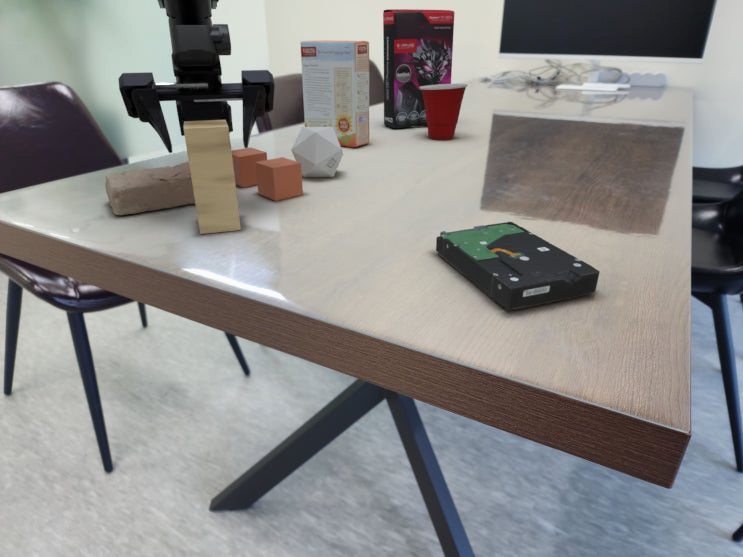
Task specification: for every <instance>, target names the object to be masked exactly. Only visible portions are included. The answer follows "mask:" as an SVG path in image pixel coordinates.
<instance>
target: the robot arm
mask: <svg viewBox="0 0 743 557" xmlns="http://www.w3.org/2000/svg"><path fill="white" fill-rule="evenodd" d="M219 2H220V0H157V3H158V6H159V9H165V14H166V16H167V18H168V21H167V22H168V28H169V29H168V30H169V37H170V44H171V50H172V52H171V55H170V57H171V64H172V71H173V75H174V77H175V82H155V78H154V74H153V72H148V71H147V72H145V71H144V72H122V73H121V74H120V76H119V77H118V78H117V79H118V88H119V93H120V95H121V98H122V101H123V104H124V107H125V110H126V113H127V115H128V117H130V118H133V119H138V120H139V121H140V122H141V123H148V124H149V125H150V126H151V127H152V128H153V130H154V131H155V132H156V133H157V135H158V136H159V138H160V140H161V142H162V143H163V145H164V146H165V149H166V150H167V152H168V153H169V154H172V153H173V144H172V140H171V137H170V132H169V128H168V126H167V122H166V119H165V116H164V111H163V108H162V105H161V102H172V101H173V102H175V107H176V113H177V120H178V124H179V130H180V136H181V137H185V135H184V122H185V121H206V120H226V122H227V124H228V127H229V134H231V133H232V132H234V127H233V116H232V115H233V114H232V106H231V105H230V104H229V102H231V101H242V143H243V147H244V148H243V149H245V148H249V144H250V140H251V136H252V131H253V128H254V126H255V124H256V122H257V119H258V118H262V117H263V118H264V116H265V115H266V113H270V112H272V111H273V110H274V100H275V85H276V84H275V80H274V75H273V73H271V72H270V70H268V69H249V70H247V69H243V70H241V72H240V74H241V75H240V76H241V82H229V83H228V82H227V83H226V82H225V83H223V82H222V76H223V72H222V70H223V69H222V64H221V57H220V56H231V55H232V43H231V35H230V29H229V24H227V23H213V21H212V17H213V13H212V10H217V8H218V3H219Z"/></svg>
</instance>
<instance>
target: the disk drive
mask: <svg viewBox="0 0 743 557" xmlns="http://www.w3.org/2000/svg"><path fill="white" fill-rule="evenodd" d="M435 250H436V252H437V253H438V255H439V256H440V257H442V259H444V260H445V261H446V262H448V263H449V264H450V265H451V266H452V267H453V268H455V269H456V270H457V271H459V273H461V274H462V275H464V276H465V277H466V278H467V279H469V280H470V281H471V282H472V283H473V284H475V285H476V286H477V287H478V288H479V289H481V290H482V291H483V292H484V293H485V294H487V295H488V296H489V297H490V298H492V300H494V301H495V302H497V303H498V304H499V305H501V306H502V307H504V308H505V309H506V310H517V309H524V308H529V307H535V306H538V305H544V304H549V303H554V302H558V301H563V300H569V299H573V298H578V297H582V296H585V295H589V294H593V293H596V291H597V286H598V282H599V277H600V272H601V271H600V270H599V269H597V268H595V267H594V266H592V265H591V264H589V263H587V262H585V261H584V260H582V259H579V258H577V257H576V256H574V255H573V254H570V253H568V252H567V251H565V250H563V249H562V248H559V247H558V246H555V245H554V244H552V243H550V242H549V241H547V240H546V239H544V238H542V237H540V236H539V235H537V234H534V233H533V232H531V231H529V230H528V229H526V228H524V227H523V226H519V225H518V224H517V223H516V222H515V223H514V222H513V221H506V222H500V223H499V222H498V223H492V224H485V225H477V226H476V225H475V226H473V228H467V229H461V230H455V231H445V230H443V231H440V234H439V236H436V241H435Z"/></svg>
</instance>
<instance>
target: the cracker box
mask: <svg viewBox="0 0 743 557" xmlns="http://www.w3.org/2000/svg"><path fill="white" fill-rule="evenodd" d="M300 58H301V59H300V60H301V61H300V63H301V78H302V81H301V82H302V96H303V98H302V99H303V100H302V101H303V118H304V127H333V129H334V131H335V134H336V136H337V139H338V141H339V144H340V146H341V147H349V148H357V147H361V146H365V145H368V144H370V42H369V41H368V40H333V39H331V40H325V39H324V40H302V41H300Z"/></svg>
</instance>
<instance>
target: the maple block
mask: <svg viewBox="0 0 743 557" xmlns="http://www.w3.org/2000/svg"><path fill="white" fill-rule="evenodd" d="M184 135H185V136H184V141H185V147H186V153H187V159H188V160H187V161H188V162H189V166H190V172H191V179H192V185H193V191H194V198H195V204H194V205H195V210H196V215H197V216H196V217H197V222H198V228H199V234H200V235H207V234H217V233H226V232H234V231H235V232H236V231H241V230H242V227H241V226H242V225H241V219H240V211H239V202H238V194H237V193H238V192H237V185H235V176H234V168H233V160H232V152H231V151H232V144H231V136H230V133H229V127H228V124H227V122H226V120H206V121H185V122H184Z"/></svg>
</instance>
